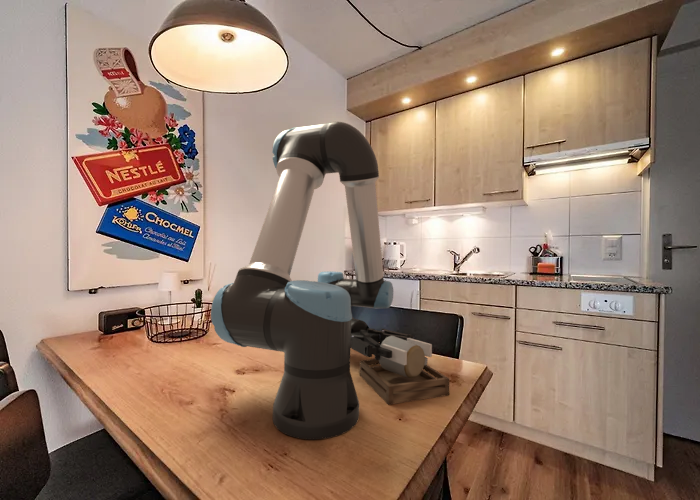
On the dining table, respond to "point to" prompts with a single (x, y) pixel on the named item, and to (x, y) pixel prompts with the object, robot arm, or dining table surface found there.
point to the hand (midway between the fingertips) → (418, 354)
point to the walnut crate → (403, 383)
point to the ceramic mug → (414, 358)
